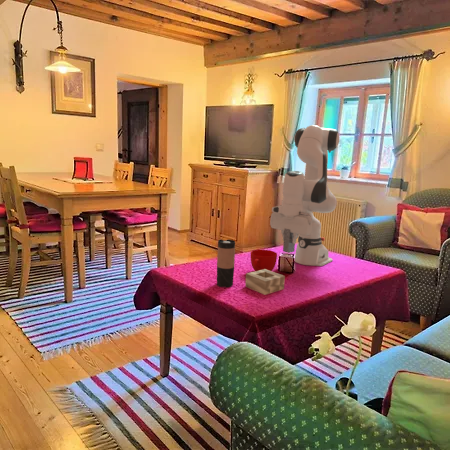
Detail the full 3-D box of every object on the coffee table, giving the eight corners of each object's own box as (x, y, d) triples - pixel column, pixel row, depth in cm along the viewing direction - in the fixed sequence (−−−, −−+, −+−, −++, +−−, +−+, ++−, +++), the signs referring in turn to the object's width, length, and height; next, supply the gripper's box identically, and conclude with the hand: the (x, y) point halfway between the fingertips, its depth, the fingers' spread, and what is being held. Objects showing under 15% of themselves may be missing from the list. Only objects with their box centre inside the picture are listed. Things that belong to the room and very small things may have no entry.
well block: (264, 281, 186) (265, 269, 184) (283, 289, 177) (284, 276, 175) (245, 286, 178) (246, 273, 177) (264, 294, 169) (265, 281, 168)
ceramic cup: (241, 275, 192) (242, 255, 190) (255, 267, 207) (256, 248, 205) (266, 280, 186) (268, 260, 184) (279, 271, 201) (280, 252, 199)
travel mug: (227, 288, 174) (229, 244, 170) (212, 285, 178) (214, 241, 174) (236, 284, 180) (238, 240, 176) (222, 280, 184) (223, 238, 180)
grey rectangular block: (288, 249, 175) (290, 227, 173) (294, 251, 173) (296, 228, 171) (282, 251, 173) (284, 228, 171) (288, 252, 170) (290, 229, 168)
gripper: (316, 213, 164) (313, 246, 166) (278, 206, 179) (276, 236, 181) (307, 214, 160) (304, 248, 162) (269, 207, 175) (267, 238, 177)
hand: (289, 242), depth 172 cm, fingers closed on grey rectangular block, 3 cm apart
